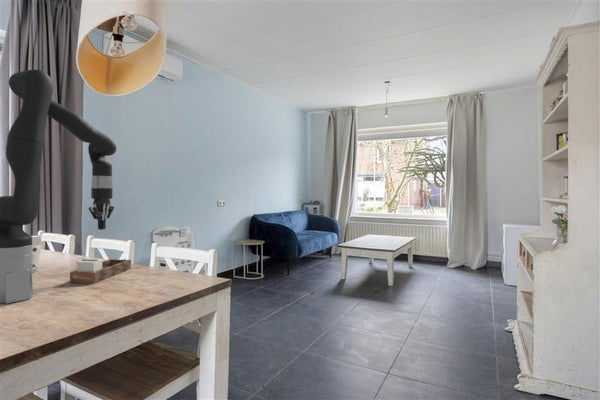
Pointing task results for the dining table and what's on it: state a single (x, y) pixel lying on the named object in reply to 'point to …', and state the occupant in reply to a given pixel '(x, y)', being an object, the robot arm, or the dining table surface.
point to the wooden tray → (101, 272)
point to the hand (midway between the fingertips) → (101, 229)
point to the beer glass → (35, 252)
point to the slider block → (89, 265)
